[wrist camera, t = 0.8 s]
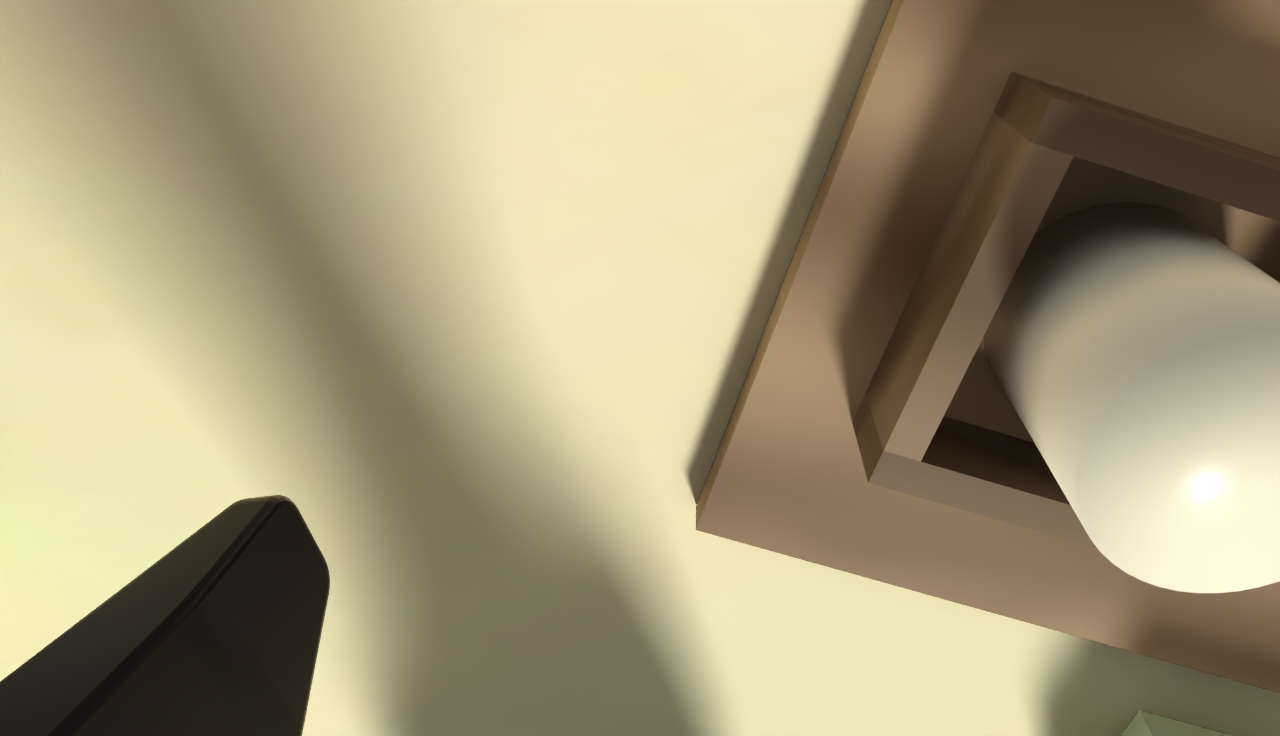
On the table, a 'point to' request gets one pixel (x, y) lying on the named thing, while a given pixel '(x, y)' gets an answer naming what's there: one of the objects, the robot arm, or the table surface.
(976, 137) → the socket board
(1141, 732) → the sage block
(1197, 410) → the cream cylinder
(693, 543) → the table surface
